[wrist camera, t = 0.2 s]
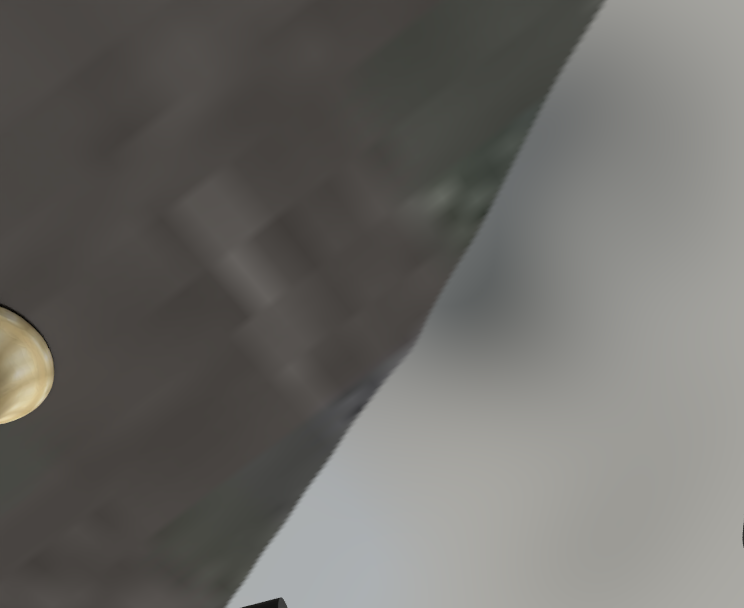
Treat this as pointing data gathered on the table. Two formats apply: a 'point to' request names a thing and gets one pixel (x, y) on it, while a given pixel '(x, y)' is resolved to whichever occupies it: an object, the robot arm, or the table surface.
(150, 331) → the table surface
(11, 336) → the hand bell
